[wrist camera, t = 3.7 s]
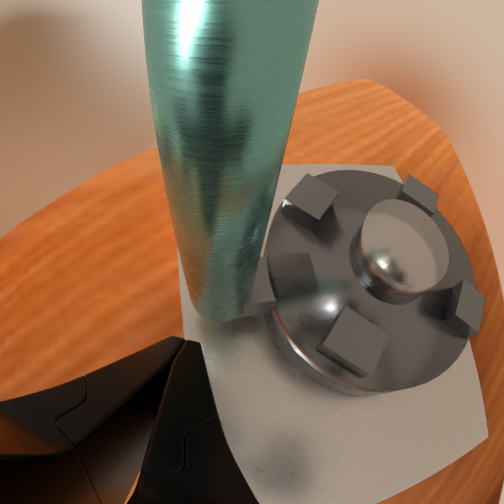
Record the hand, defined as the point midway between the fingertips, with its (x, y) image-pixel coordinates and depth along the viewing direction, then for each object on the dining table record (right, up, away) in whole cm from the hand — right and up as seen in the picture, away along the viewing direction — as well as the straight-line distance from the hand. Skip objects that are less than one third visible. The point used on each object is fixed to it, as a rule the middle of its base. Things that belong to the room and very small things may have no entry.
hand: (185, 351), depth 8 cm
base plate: (+7, -1, +9) cm, 11 cm away
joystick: (+6, +1, +7) cm, 10 cm away
